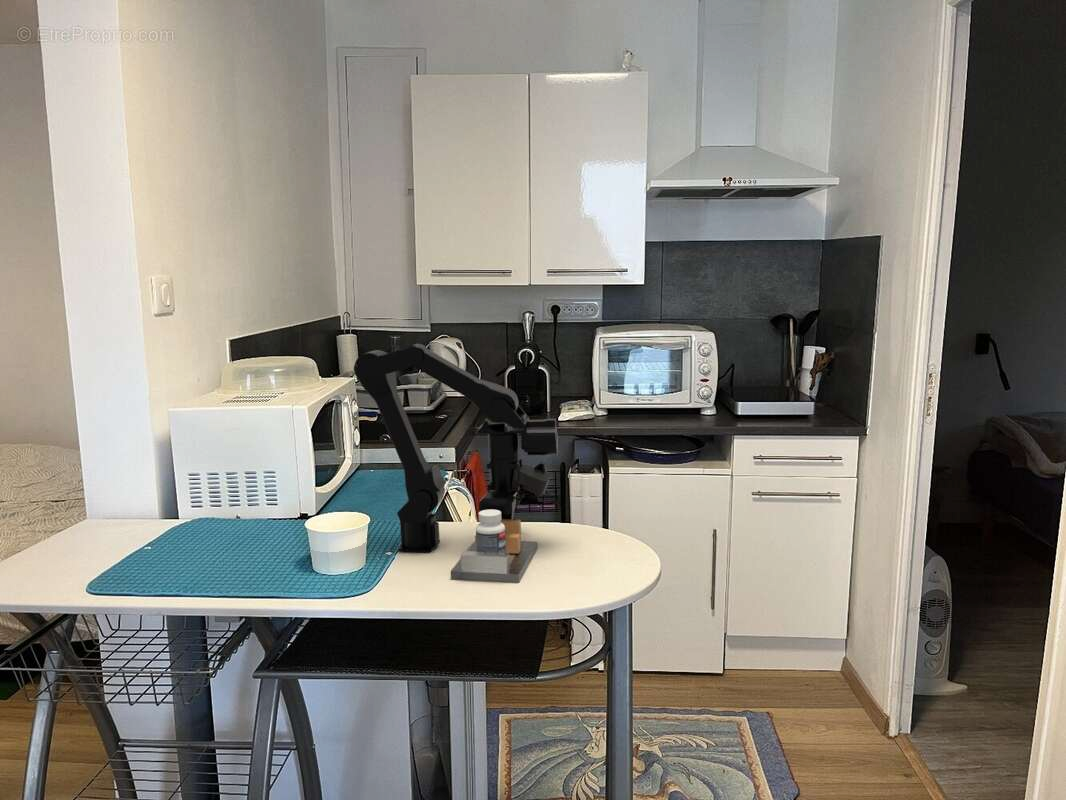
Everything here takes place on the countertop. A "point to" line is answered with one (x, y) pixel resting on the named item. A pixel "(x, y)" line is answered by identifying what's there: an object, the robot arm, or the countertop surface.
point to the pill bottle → (490, 532)
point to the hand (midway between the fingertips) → (507, 532)
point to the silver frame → (494, 564)
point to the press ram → (511, 535)
